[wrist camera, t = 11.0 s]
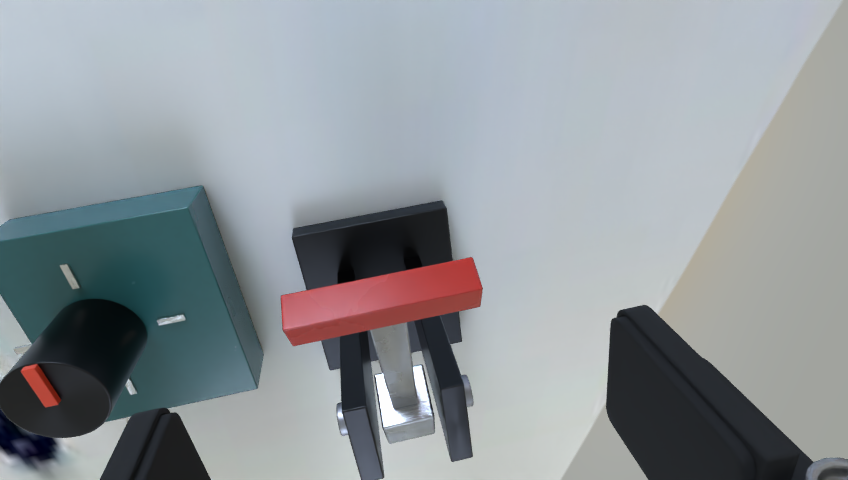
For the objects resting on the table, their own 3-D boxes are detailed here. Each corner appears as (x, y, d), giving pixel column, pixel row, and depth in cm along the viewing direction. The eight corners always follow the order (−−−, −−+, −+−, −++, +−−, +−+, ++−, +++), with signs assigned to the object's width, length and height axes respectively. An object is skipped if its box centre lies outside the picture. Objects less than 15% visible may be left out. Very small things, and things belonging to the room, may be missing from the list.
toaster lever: (279, 275, 14) (283, 353, 13) (466, 238, 14) (490, 309, 13) (346, 401, 24) (353, 452, 22) (456, 376, 24) (469, 425, 23)
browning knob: (160, 355, 27) (125, 430, 23) (77, 373, 27) (24, 453, 22) (127, 290, 25) (81, 357, 20) (37, 308, 25) (-31, 380, 20)
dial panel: (92, 391, 31) (68, 432, 28) (-8, 222, 26) (-52, 251, 23) (264, 354, 32) (257, 391, 29) (202, 184, 27) (187, 208, 24)
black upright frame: (292, 228, 29) (271, 369, 18) (442, 199, 30) (508, 317, 19) (329, 359, 33) (330, 534, 22) (458, 331, 34) (518, 487, 23)
